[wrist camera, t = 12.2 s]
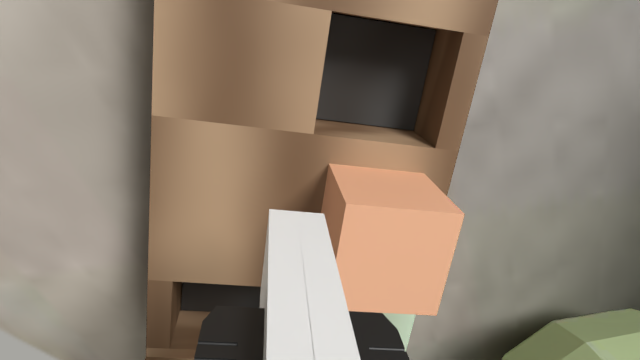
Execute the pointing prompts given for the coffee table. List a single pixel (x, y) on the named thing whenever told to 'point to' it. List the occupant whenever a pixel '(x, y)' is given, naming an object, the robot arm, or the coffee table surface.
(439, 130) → the wooden box
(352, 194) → the cube
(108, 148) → the coffee table surface
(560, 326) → the decorative sphere
